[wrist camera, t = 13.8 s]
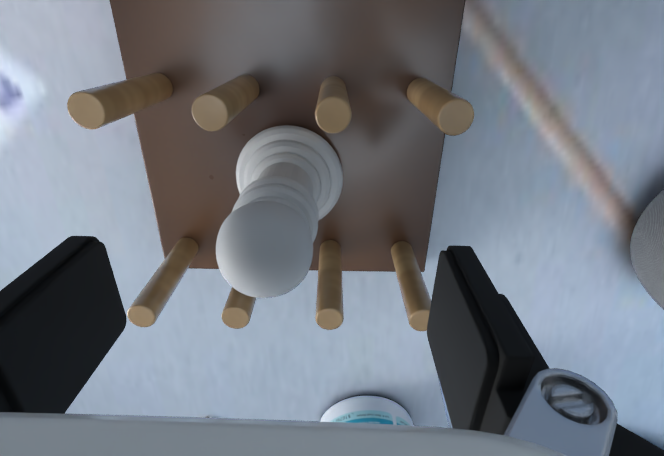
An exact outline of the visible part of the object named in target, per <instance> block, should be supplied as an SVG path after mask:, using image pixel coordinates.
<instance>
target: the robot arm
mask: <svg viewBox="0 0 664 456" xmlns="http://www.w3.org/2000/svg"><path fill="white" fill-rule="evenodd" d="M125 326H126V314H125V311H124V308H123V304H122V301H121V298H120V295H119V291H118V288H117V285H116V281H115V278H114V275H113V271H112V268H111V265H110V261H109V258H108V255H107V251H106V248H105V245H104V244H103V243H102V242H99V240H98V239H97V238H96V237H93V236H71V237H69V238H67V239H66V240H65V241H63V242H62V243H61V244H60V245H58V246H57V247H56V248H54V249H53V250H52V251H51V252H49V253H48V254H47V255H46V256H44V257H43V258H42V259H40V260H39V261H38V262H37V263H35V264H34V265H33V266H32V267H30V268H29V269H28V270H26V271H25V272H24V273H23V274H21V275H20V276H19V277H17V278H16V279H15V280H14V281H12V282H11V283H10V284H9V285H7V286H6V287H5V288H3V289H2V290H1V291H0V456H664V450H662V449H660V448H659V447H657V446H655V445H653V444H652V443H650V442H648V441H646V440H645V439H643V438H641V437H640V436H638V435H636V434H634V433H633V432H631V431H629V430H627V429H626V428H624V427H622V426H621V425H619V424H617V410H616V408H615V406H614V403H613V401H612V400H611V399H610V398H609V396H608V395H607V394H606V393H605V392H604V391H603V390H602V389H601V388H600V387H599V386H597V385H596V384H595V383H594V382H592V381H590V380H589V379H587V378H585V377H583V376H582V375H579V374H577V373H574V372H571V371H568V370H563V369H558V368H554V369H549V367H548V365H547V364H546V362H545V360H544V359H543V357H542V355H541V354H540V352H539V350H538V349H537V347H536V346H535V344H534V342H533V341H532V339H531V337H530V336H529V334H528V332H527V331H526V329H525V327H524V326H523V324H522V322H521V321H520V319H519V317H518V316H517V314H516V312H515V311H514V309H513V307H512V306H511V304H510V302H509V301H508V299H507V298H506V297H505V295H502V294H498V292H497V290H496V289H495V287H494V285H493V284H492V282H491V280H490V278H489V277H488V275H487V273H486V271H485V270H484V268H483V266H482V265H481V263H480V261H479V259H478V258H477V256H476V254H475V253H474V251H473V249H472V248H471V247H470V246H448V248H447V251H441V252H440V255H439V261H438V266H437V272H436V278H435V284H434V289H433V295H432V301H431V307H430V312H429V318H428V324H427V336H428V341H429V344H430V348H431V351H432V355H433V359H434V362H435V366H436V370H437V373H438V377H439V381H440V384H441V388H442V391H443V395H444V399H445V402H446V406H447V410H448V413H449V417H450V421H451V424H452V428H442V427H427V426H409V425H390V424H371V423H346V422H318V421H291V420H263V419H233V418H201V417H168V416H134V415H97V414H64V413H65V412H66V410H67V409H68V408H69V406H70V405H71V403H72V402H73V401H74V399H75V398H76V396H77V395H78V393H79V392H80V391H81V389H82V388H83V386H84V385H85V384H86V382H87V381H88V379H89V378H90V377H91V375H92V374H93V372H94V371H95V370H96V368H97V367H98V365H99V364H100V362H101V361H102V360H103V358H104V357H105V355H106V354H107V353H108V351H109V350H110V348H111V347H112V346H113V344H114V343H115V341H116V340H117V339H118V337H119V336H120V334H121V333H122V332H123V330H124V328H125Z"/></svg>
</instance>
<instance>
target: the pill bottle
mask: <svg viewBox="0 0 664 456" xmlns="http://www.w3.org/2000/svg"><path fill="white" fill-rule="evenodd" d="M320 422H346V423H371V424H390V425H409V426H413V422H412V420H411V418H410V416H409V414H408V413H407V411H406V410H405V409H404V408H403V407H401V406H400V405H399V404H397V403H395V402H394V401H391V400H389V399H386V398H383V397H378V396H356V397H351V398H348V399H345V400H342V401H340V402H338V403H336V404H335V405H333V406H332V407H330V408H329V409H328V410H327V411H326V412H325V413H324V415H323V416H322V418H321V420H320Z"/></svg>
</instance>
